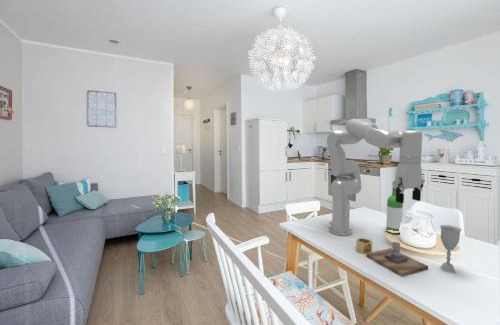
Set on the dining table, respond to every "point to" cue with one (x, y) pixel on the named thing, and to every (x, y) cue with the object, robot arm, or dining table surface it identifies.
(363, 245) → the ring
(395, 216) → the wine bottle
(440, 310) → the dining table surface
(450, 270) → the chalice
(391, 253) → the shaft stand
